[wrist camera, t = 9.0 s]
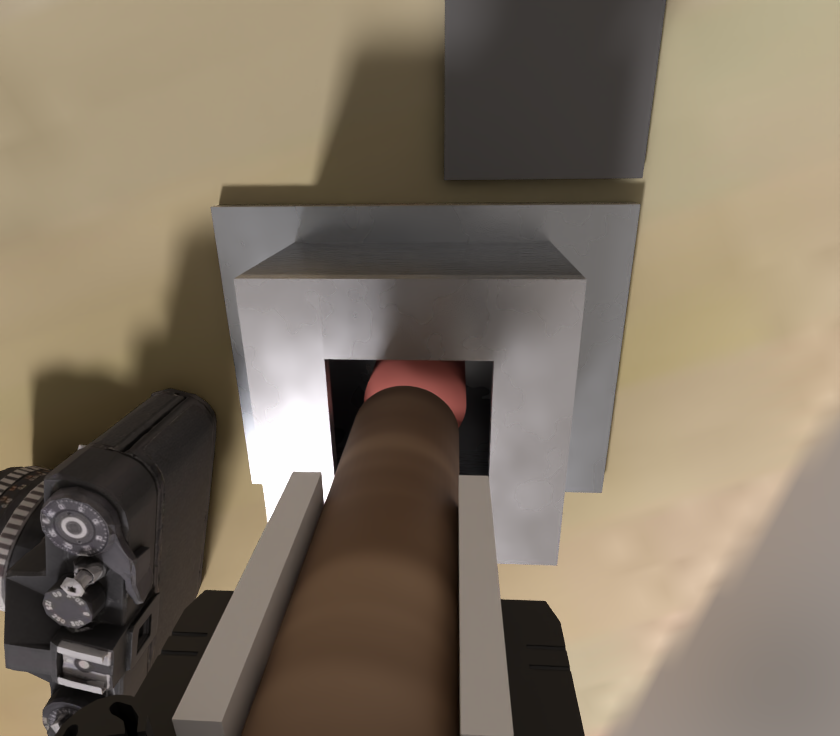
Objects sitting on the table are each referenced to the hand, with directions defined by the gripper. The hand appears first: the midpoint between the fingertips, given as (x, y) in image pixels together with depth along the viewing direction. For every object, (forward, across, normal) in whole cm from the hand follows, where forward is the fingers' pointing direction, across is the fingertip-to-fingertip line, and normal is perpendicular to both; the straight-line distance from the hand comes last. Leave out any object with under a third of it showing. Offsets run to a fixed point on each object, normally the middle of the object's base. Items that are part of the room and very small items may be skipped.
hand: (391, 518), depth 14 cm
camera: (+13, -16, -9) cm, 23 cm away
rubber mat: (+13, +5, +12) cm, 18 cm away
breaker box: (+13, 0, 0) cm, 13 cm away
